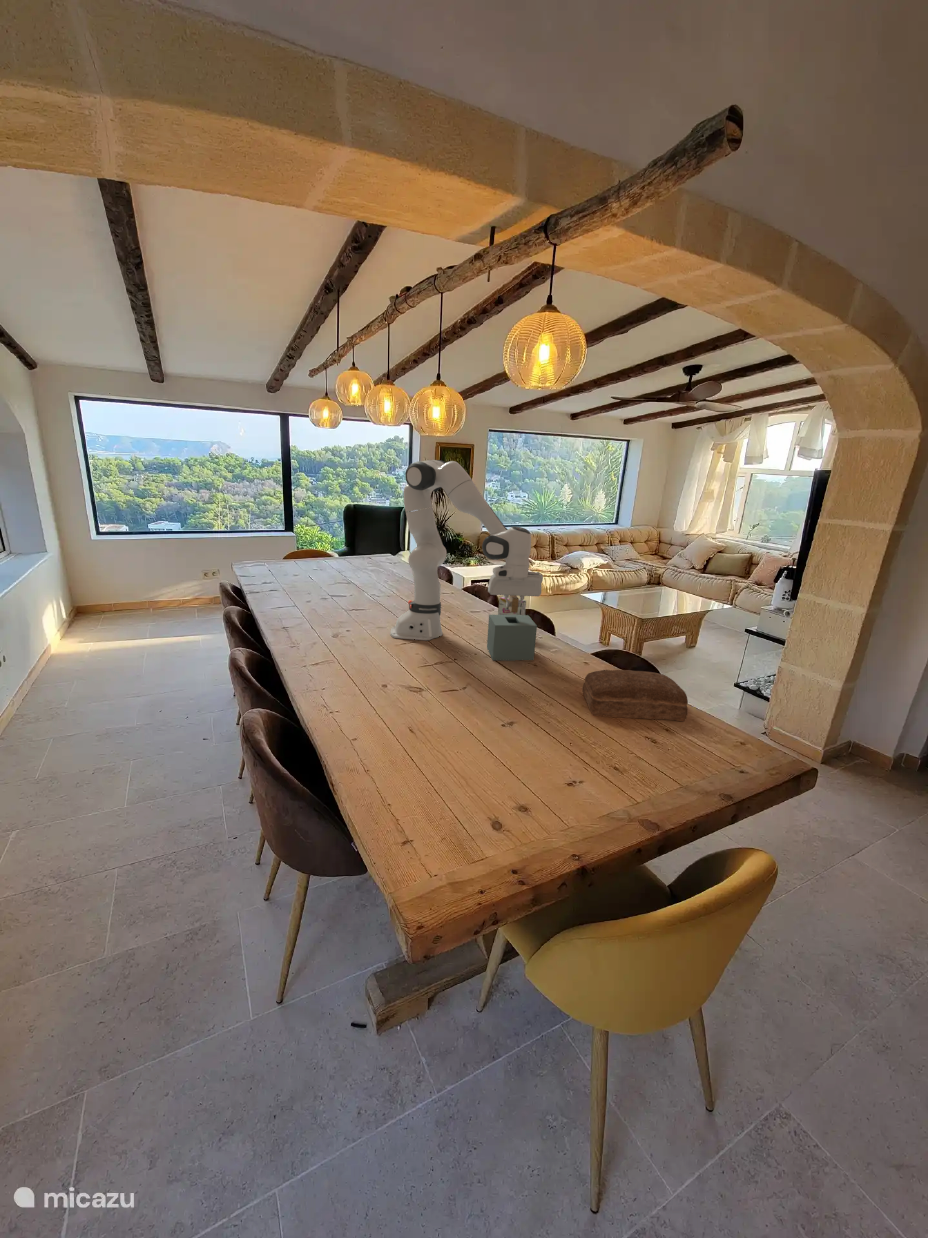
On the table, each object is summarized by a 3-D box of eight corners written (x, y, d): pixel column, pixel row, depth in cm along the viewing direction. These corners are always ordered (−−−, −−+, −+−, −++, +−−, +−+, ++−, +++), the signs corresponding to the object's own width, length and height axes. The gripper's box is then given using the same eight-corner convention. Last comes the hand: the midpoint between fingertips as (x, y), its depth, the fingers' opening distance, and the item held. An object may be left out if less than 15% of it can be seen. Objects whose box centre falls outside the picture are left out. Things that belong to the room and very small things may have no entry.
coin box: (492, 660, 186) (495, 625, 182) (486, 647, 199) (489, 614, 195) (533, 660, 188) (537, 625, 184) (525, 647, 201) (528, 615, 197)
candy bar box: (496, 633, 218) (498, 597, 213) (501, 630, 222) (503, 595, 217) (518, 638, 212) (521, 602, 208) (523, 635, 216) (526, 599, 212)
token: (511, 612, 186) (512, 598, 184) (508, 608, 191) (509, 594, 189) (517, 612, 186) (518, 598, 184) (514, 608, 191) (515, 595, 189)
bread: (688, 724, 145) (696, 689, 142) (589, 717, 146) (594, 682, 143) (668, 698, 162) (674, 666, 158) (579, 693, 163) (583, 660, 159)
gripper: (541, 570, 188) (537, 605, 192) (488, 568, 186) (486, 603, 190) (545, 573, 182) (541, 609, 186) (491, 571, 180) (488, 607, 184)
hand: (513, 606), depth 188 cm, fingers closed on token, 2 cm apart
